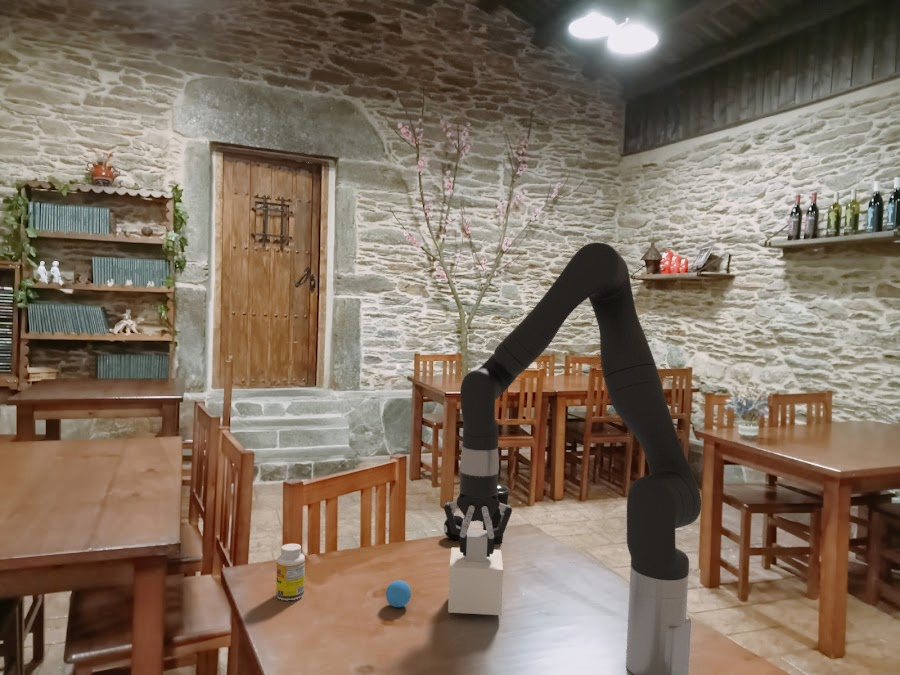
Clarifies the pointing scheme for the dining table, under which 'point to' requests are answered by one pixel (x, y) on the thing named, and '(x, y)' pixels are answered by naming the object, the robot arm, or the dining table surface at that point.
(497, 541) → the drinking cup
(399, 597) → the blue ball
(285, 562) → the supplement bottle
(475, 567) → the white block with stub
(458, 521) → the billiard ball
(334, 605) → the dining table surface
